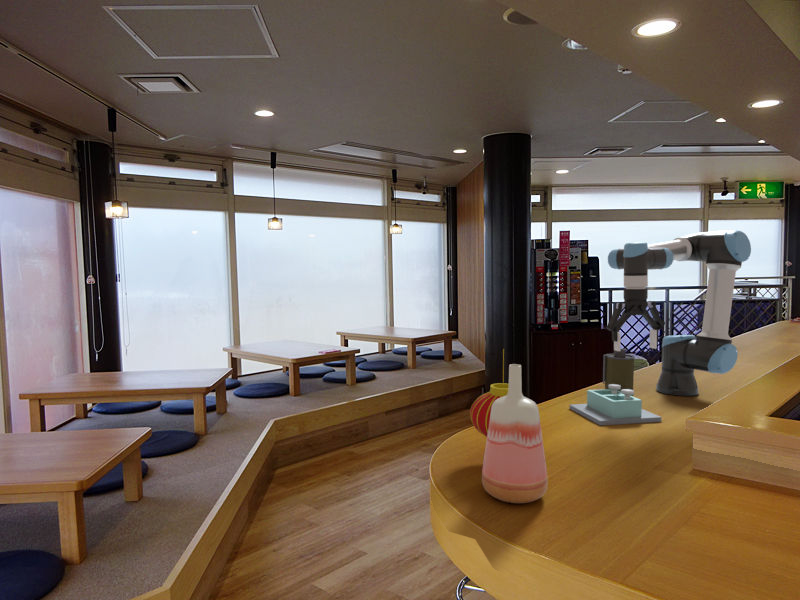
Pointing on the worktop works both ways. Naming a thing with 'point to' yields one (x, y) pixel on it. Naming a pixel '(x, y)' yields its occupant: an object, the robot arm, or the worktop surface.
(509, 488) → the vase
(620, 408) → the teal breeze block
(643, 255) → the robot arm
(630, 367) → the canister
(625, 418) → the board
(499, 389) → the lantern
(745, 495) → the worktop surface
